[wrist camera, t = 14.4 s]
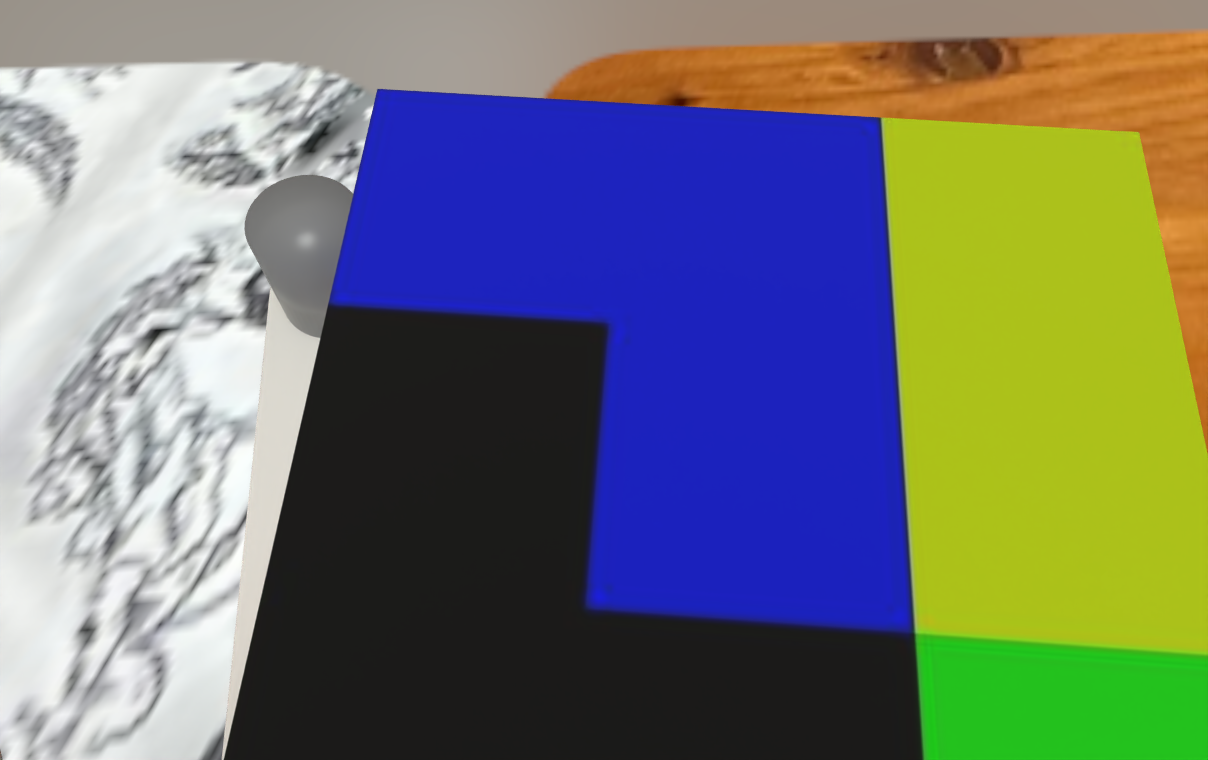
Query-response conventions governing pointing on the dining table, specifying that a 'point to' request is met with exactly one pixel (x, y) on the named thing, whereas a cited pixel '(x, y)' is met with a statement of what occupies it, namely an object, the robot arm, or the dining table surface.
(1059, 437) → the puzzle toy
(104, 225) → the dining table surface
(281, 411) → the stub base
